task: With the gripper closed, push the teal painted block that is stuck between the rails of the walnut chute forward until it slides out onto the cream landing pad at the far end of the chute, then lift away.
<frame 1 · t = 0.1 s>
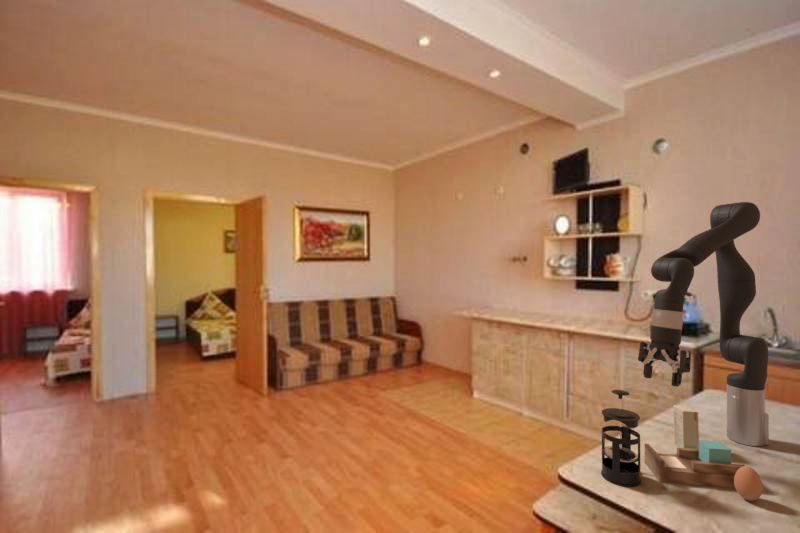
hand: (660, 381, 117), 22 cm above the table, tool pointing down, fingers open, 8 cm apart
french press: (621, 477, 107), on the table
egg: (748, 500, 96), on the table
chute: (693, 475, 108), on the table
block: (714, 454, 107), point 6 cm above the table, slide at 0.0 cm
skincare box: (686, 448, 123), on the table
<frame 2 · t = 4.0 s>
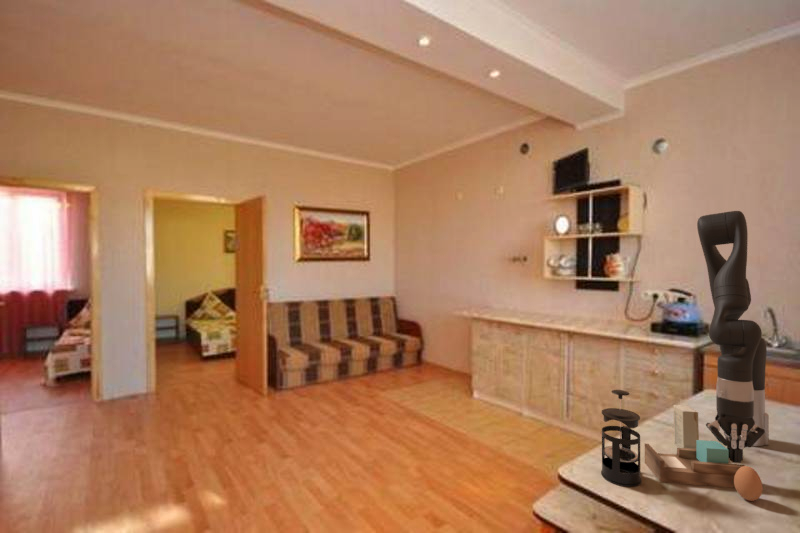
hand: (734, 461, 106), 5 cm above the table, tool pointing down, fingers closed
block: (712, 454, 107), point 6 cm above the table, slide at 0.6 cm, touching gripper
everything else where it was.
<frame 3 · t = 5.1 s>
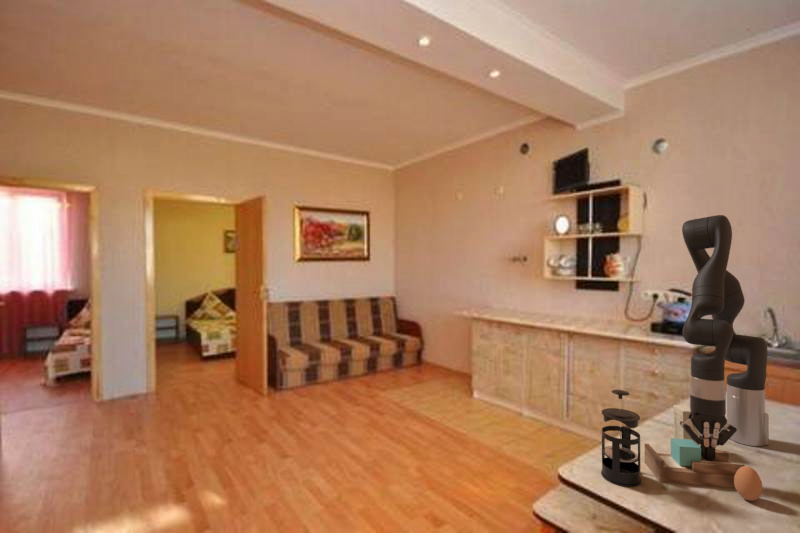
hand: (707, 459, 107), 5 cm above the table, tool pointing down, fingers closed
block: (685, 452, 108), point 6 cm above the table, slide at 6.9 cm, touching gripper
everything else where it was.
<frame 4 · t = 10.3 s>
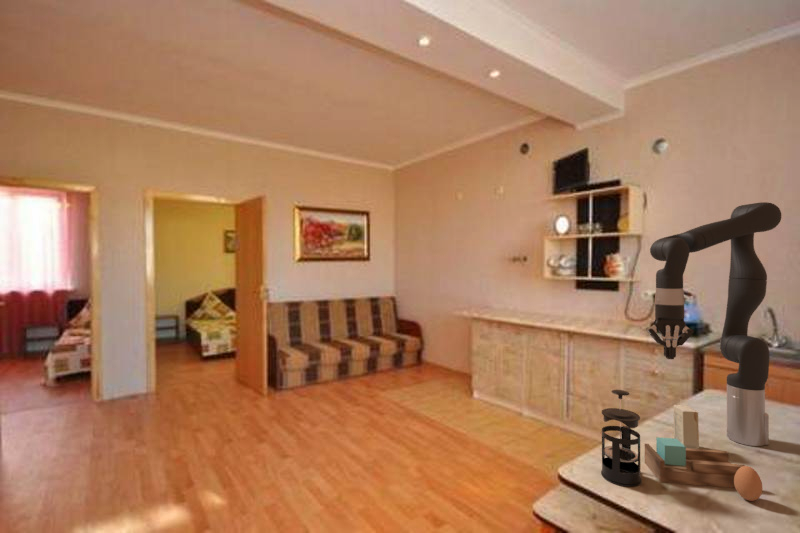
hand: (669, 358, 125), 27 cm above the table, tool pointing down, fingers closed
block: (670, 451, 109), point 6 cm above the table, slide at 10.4 cm
everything else where it was.
at the end: block slide at 10.4 cm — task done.
